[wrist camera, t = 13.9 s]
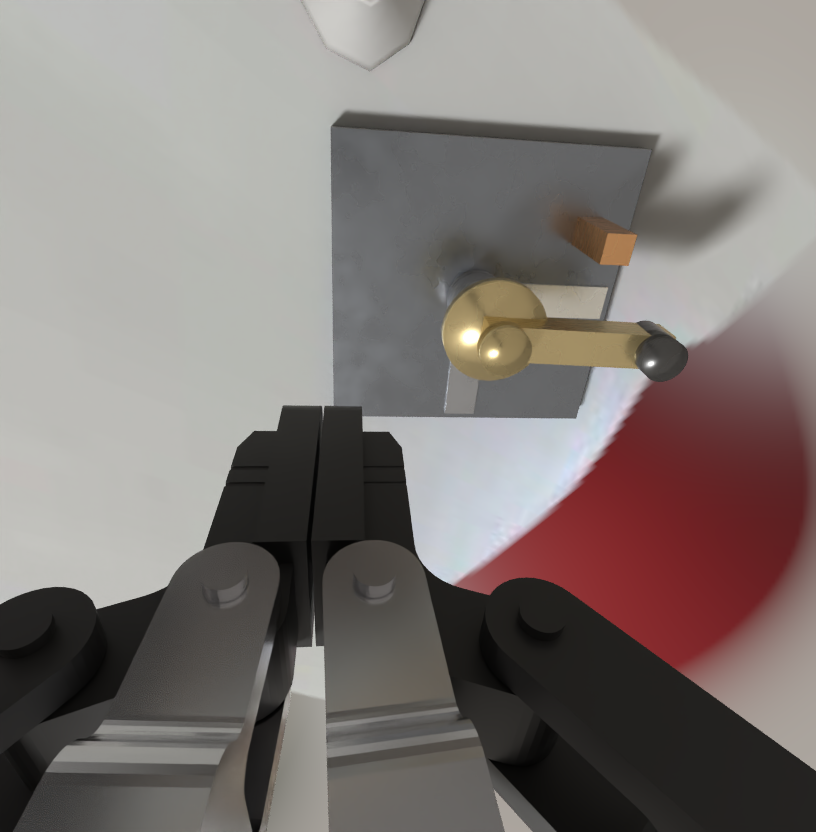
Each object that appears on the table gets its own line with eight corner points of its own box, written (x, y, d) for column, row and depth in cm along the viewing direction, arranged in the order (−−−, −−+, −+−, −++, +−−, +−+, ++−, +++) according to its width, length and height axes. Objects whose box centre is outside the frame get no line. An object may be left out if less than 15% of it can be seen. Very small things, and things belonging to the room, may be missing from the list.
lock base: (331, 126, 34) (326, 132, 28) (643, 148, 37) (699, 158, 31) (334, 408, 46) (331, 455, 40) (571, 411, 48) (601, 456, 42)
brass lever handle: (435, 371, 36) (443, 400, 33) (448, 273, 33) (459, 295, 29) (638, 381, 38) (666, 409, 35) (673, 289, 35) (708, 311, 31)
